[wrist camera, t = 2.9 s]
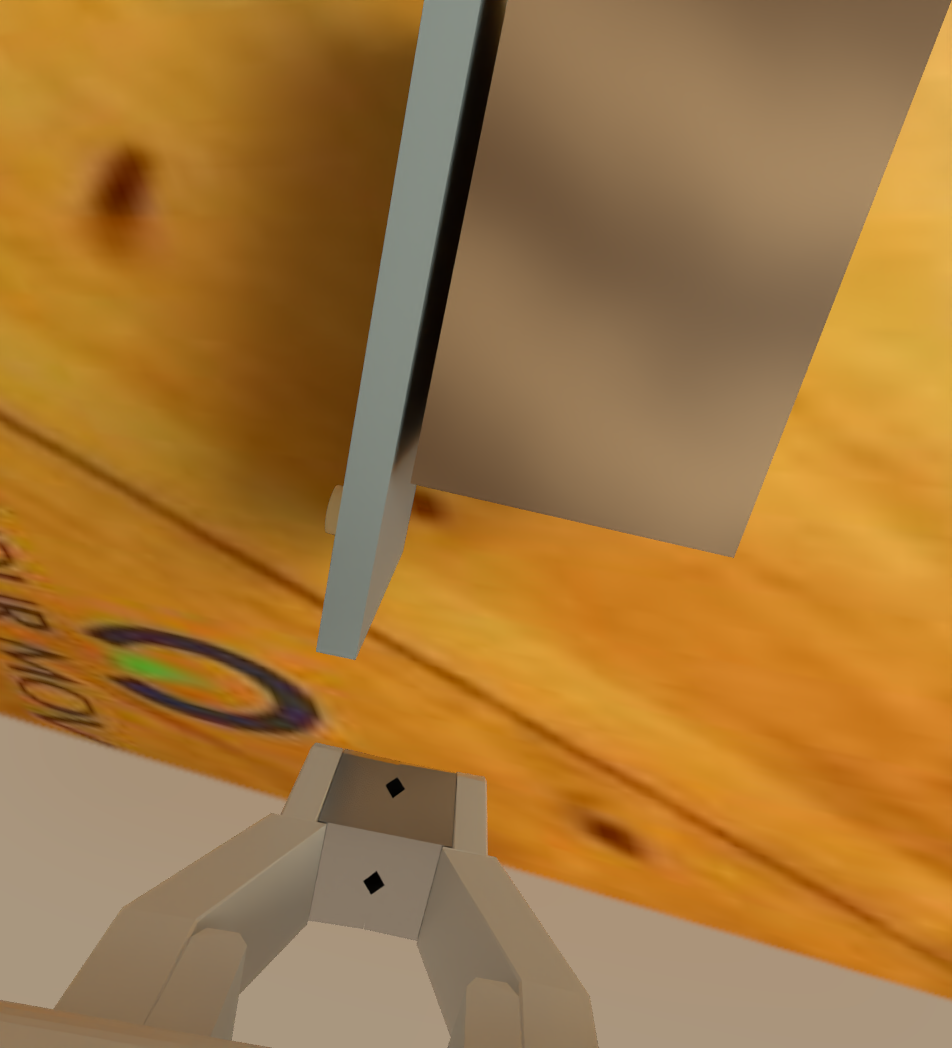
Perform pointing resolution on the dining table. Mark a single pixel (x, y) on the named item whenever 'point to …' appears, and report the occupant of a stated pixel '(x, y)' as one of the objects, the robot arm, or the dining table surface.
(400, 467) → the door
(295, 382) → the dining table surface
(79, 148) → the dining table surface
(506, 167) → the cabinet
